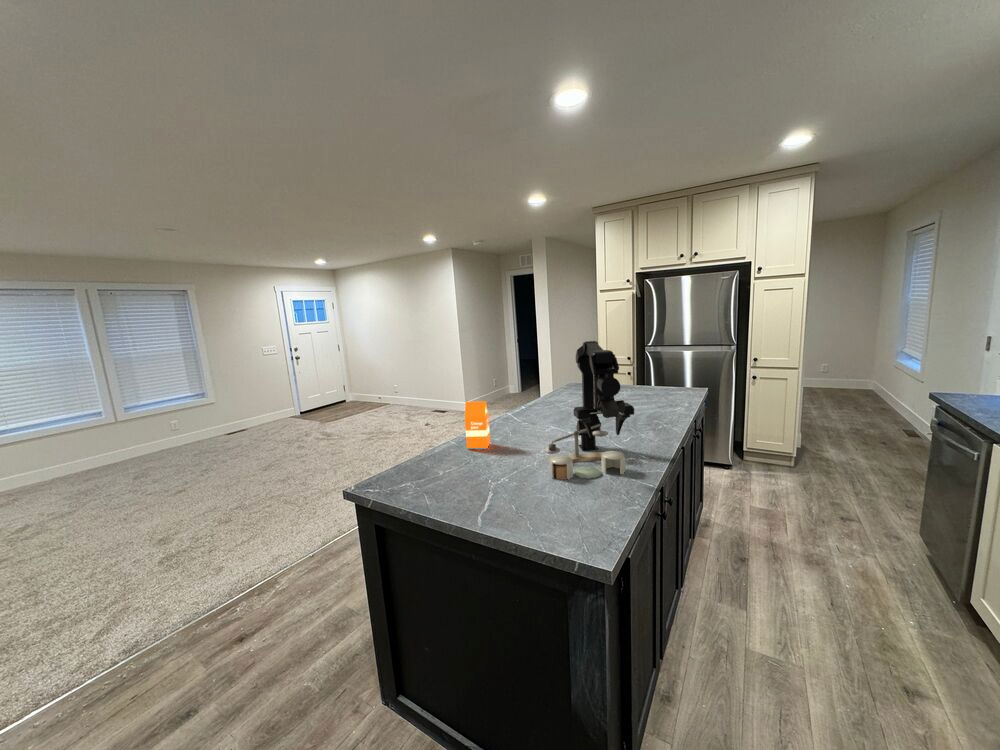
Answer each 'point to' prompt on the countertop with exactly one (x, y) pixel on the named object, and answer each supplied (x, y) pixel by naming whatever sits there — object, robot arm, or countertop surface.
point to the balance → (577, 456)
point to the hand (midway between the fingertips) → (604, 436)
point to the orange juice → (477, 425)
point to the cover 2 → (613, 460)
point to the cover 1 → (561, 461)
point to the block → (560, 471)
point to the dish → (587, 472)
